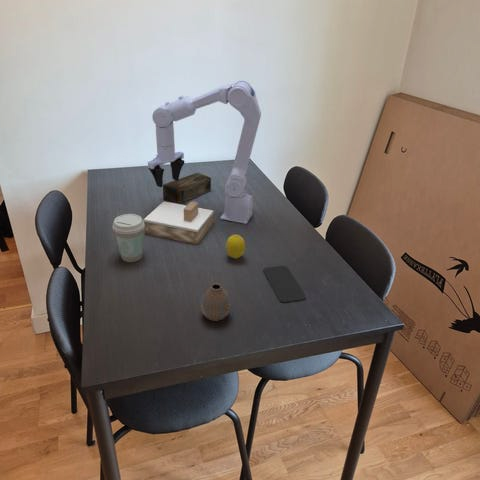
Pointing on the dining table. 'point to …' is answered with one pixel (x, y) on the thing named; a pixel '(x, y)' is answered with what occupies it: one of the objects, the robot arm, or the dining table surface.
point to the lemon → (235, 246)
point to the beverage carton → (186, 188)
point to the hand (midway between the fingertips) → (167, 183)
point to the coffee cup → (129, 236)
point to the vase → (215, 303)
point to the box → (178, 232)
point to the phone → (284, 284)
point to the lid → (179, 216)
